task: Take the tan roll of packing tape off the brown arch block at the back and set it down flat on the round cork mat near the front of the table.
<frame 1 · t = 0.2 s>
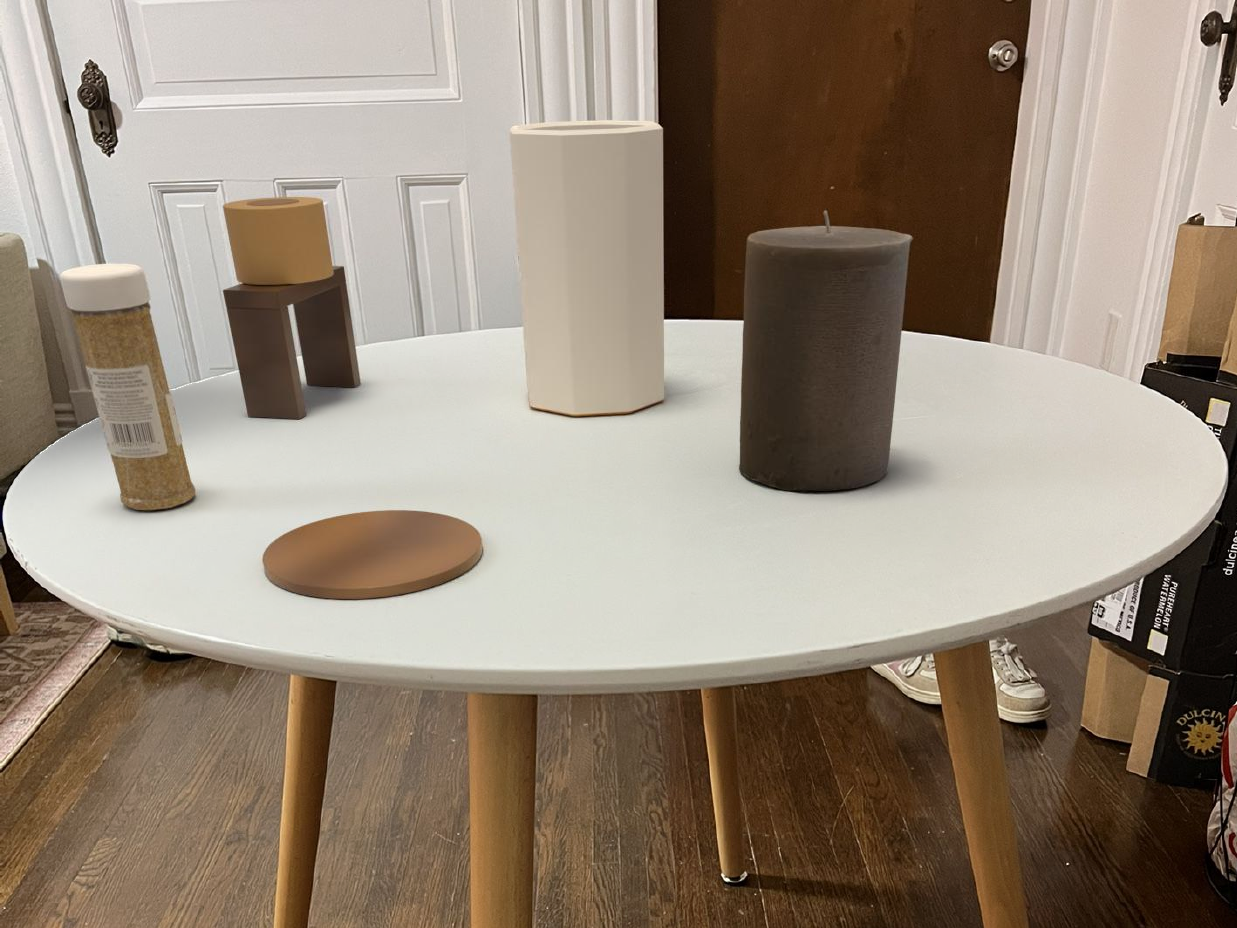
spice jar: (159, 503, 75), on the table
cream faceted vase: (595, 401, 93), on the table
tape roll: (285, 276, 89), point 9 cm above the table, touching brown arch block
cork mat: (374, 556, 66), on the table
brown arch block: (306, 399, 95), on the table
pillar candle: (813, 472, 77), on the table
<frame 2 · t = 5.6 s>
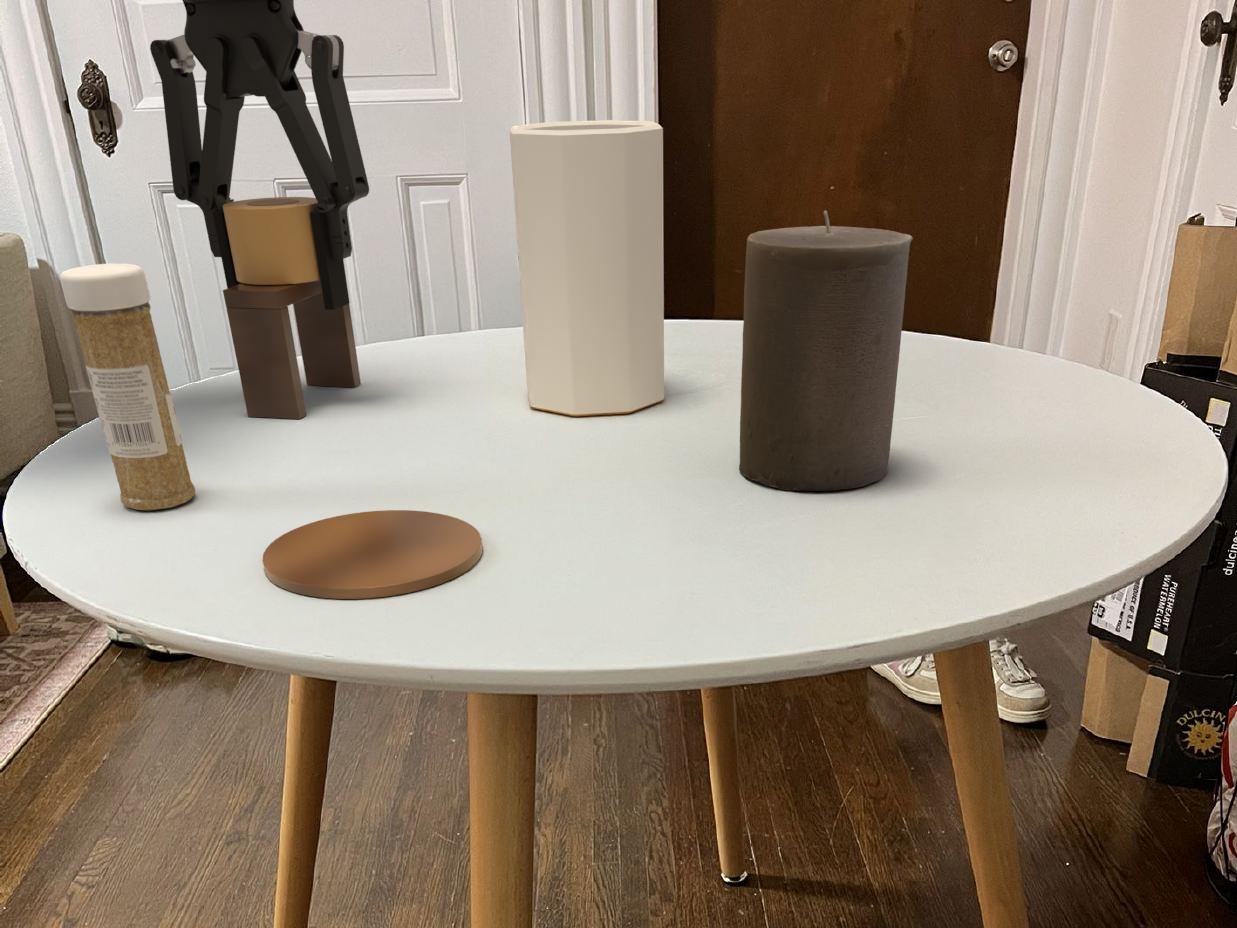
hand: (290, 304, 91), 7 cm above the table, tool pointing down, fingers closed on tape roll, 7 cm apart
tape roll: (285, 276, 89), point 9 cm above the table, touching gripper, brown arch block
everything else where it was.
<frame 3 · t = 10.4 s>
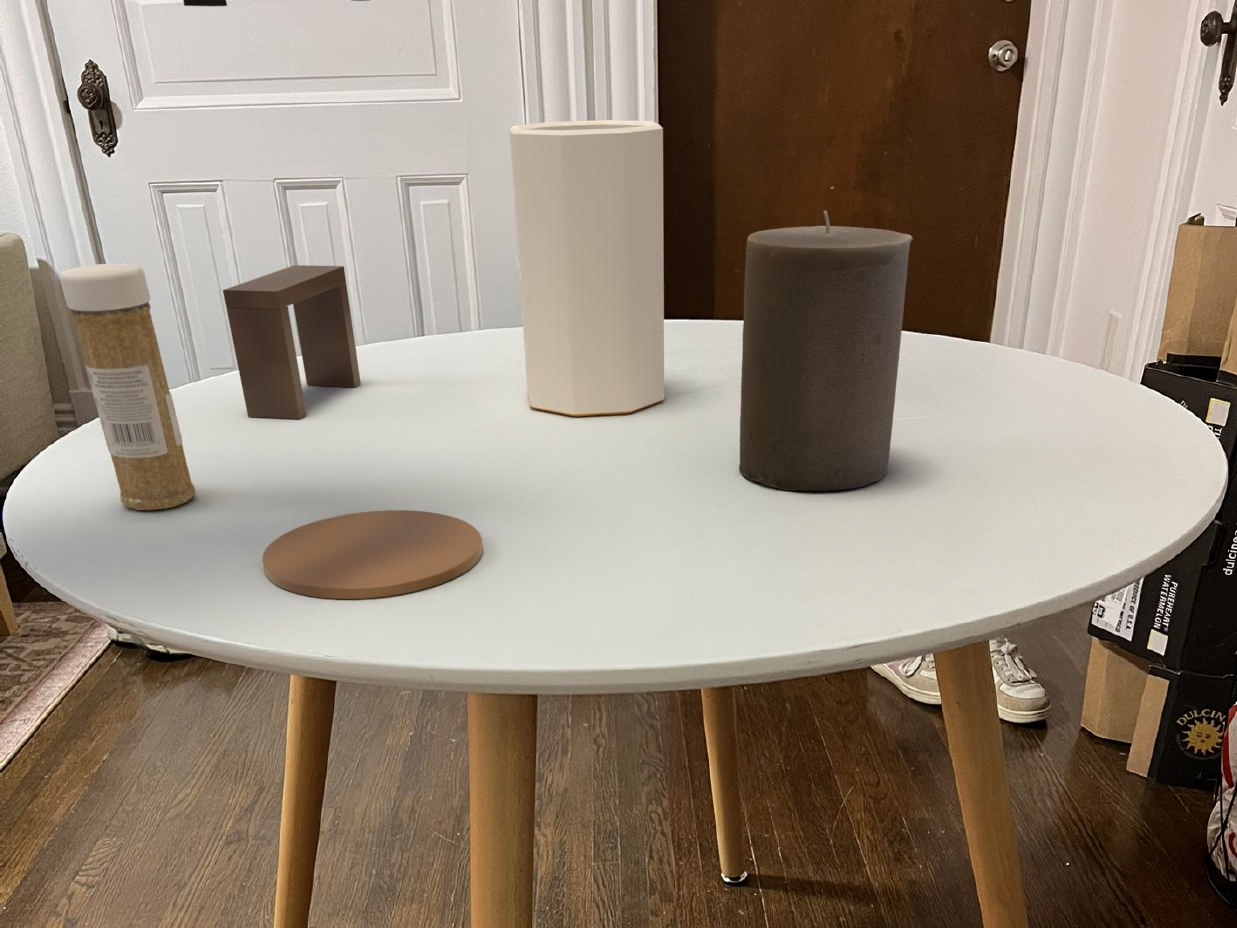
hand: (279, 2, 56), 25 cm above the table, tool pointing down, fingers closed on tape roll, 7 cm apart
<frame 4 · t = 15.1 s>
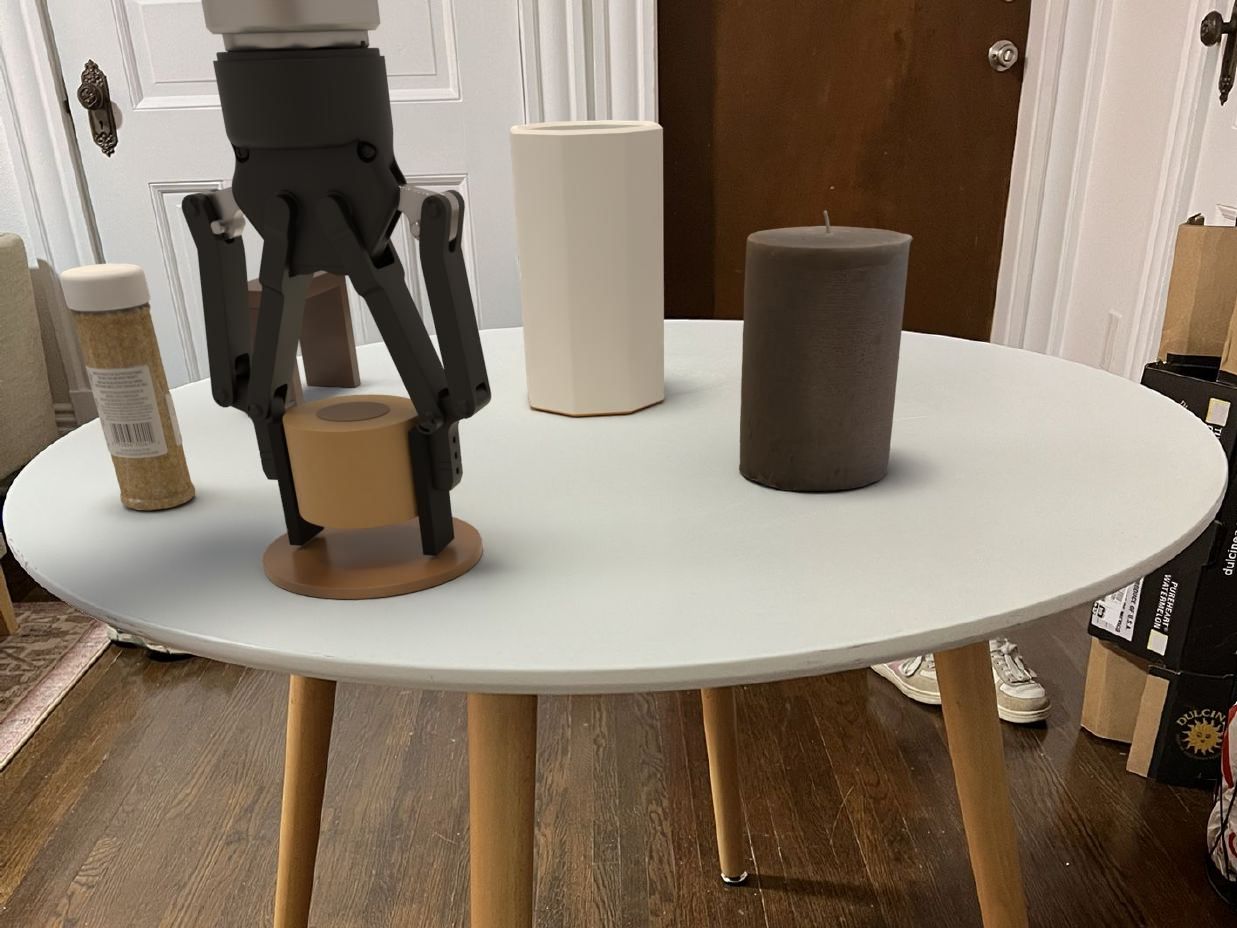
hand: (372, 541, 65), 1 cm above the table, tool pointing down, fingers closed on tape roll, 7 cm apart
tape roll: (367, 506, 64), point 3 cm above the table, touching gripper
everything else where it was.
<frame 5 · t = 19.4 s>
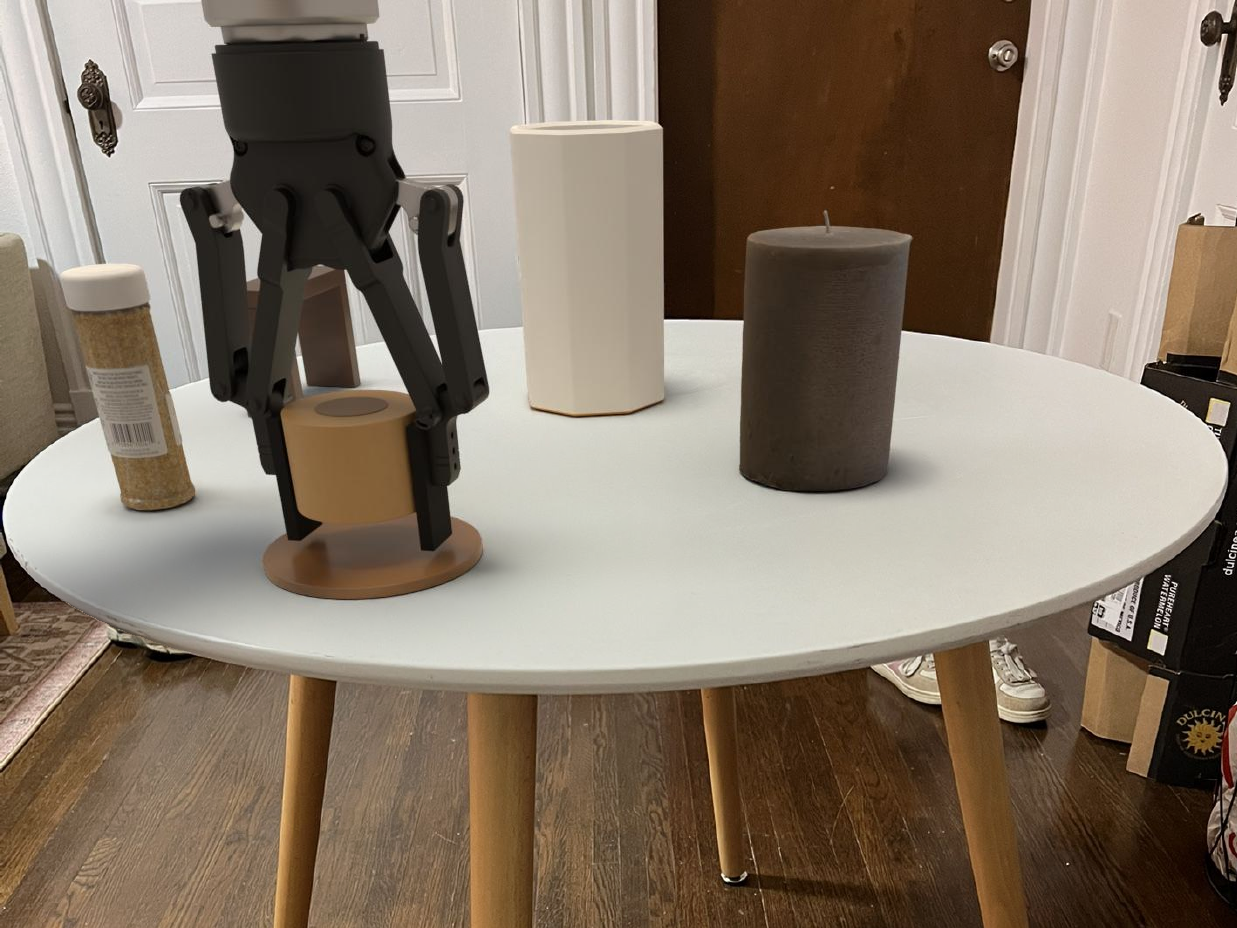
hand: (370, 536, 65), 1 cm above the table, tool pointing down, fingers closed on tape roll, 7 cm apart
tape roll: (365, 501, 64), point 3 cm above the table, touching gripper
everything else where it was.
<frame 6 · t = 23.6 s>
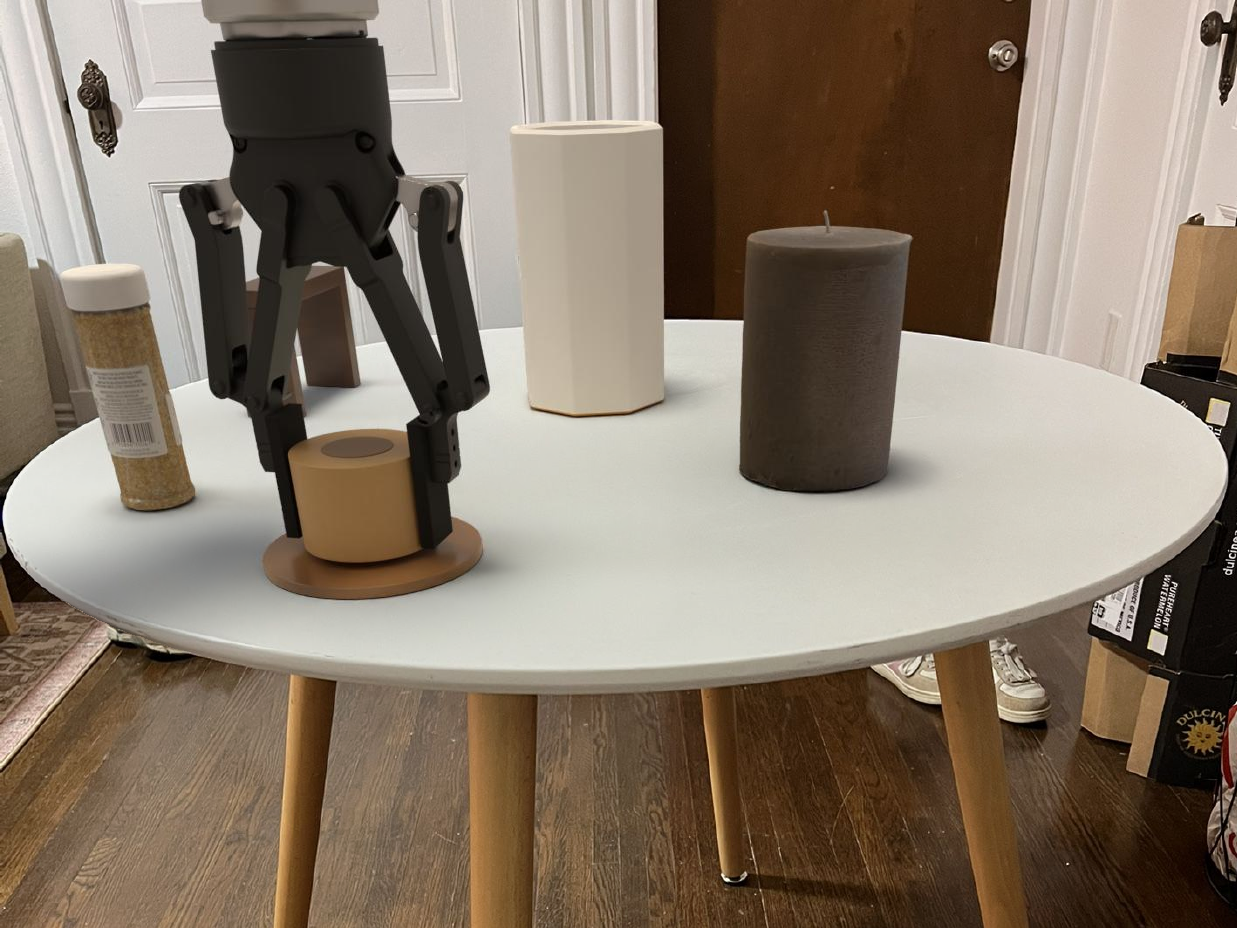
hand: (370, 533, 65), 1 cm above the table, tool pointing down, fingers closed on tape roll, 7 cm apart
tape roll: (371, 538, 65), point 1 cm above the table, touching gripper
everything else where it was.
when the fingers open (2 cm above the table, at t = 23.9 s): tape roll drops 1 cm, resting on cork mat.
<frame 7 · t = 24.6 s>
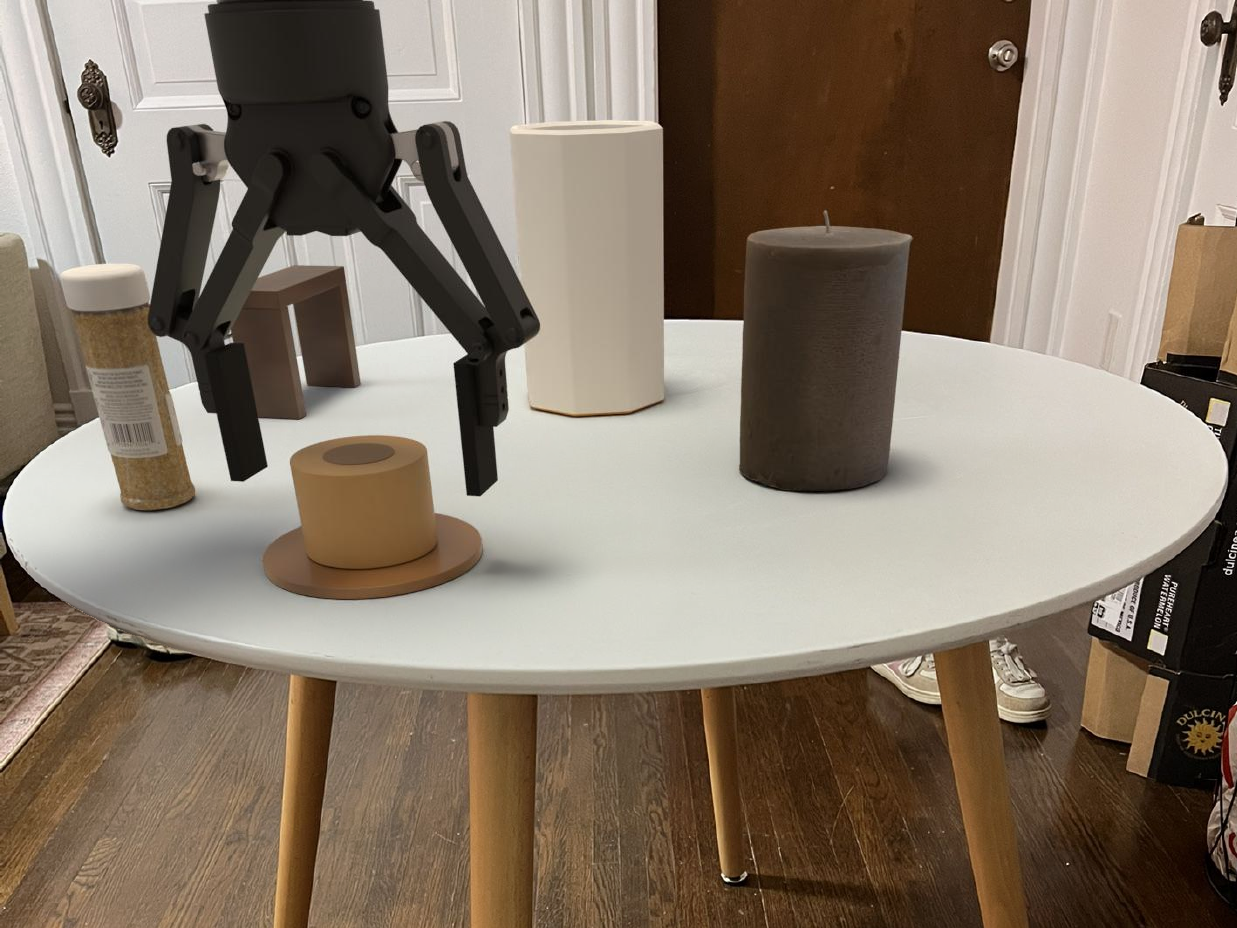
hand: (363, 481, 63), 4 cm above the table, tool pointing down, fingers open, 13 cm apart
tape roll: (372, 544, 65), point 1 cm above the table, touching cork mat
everything else where it was.
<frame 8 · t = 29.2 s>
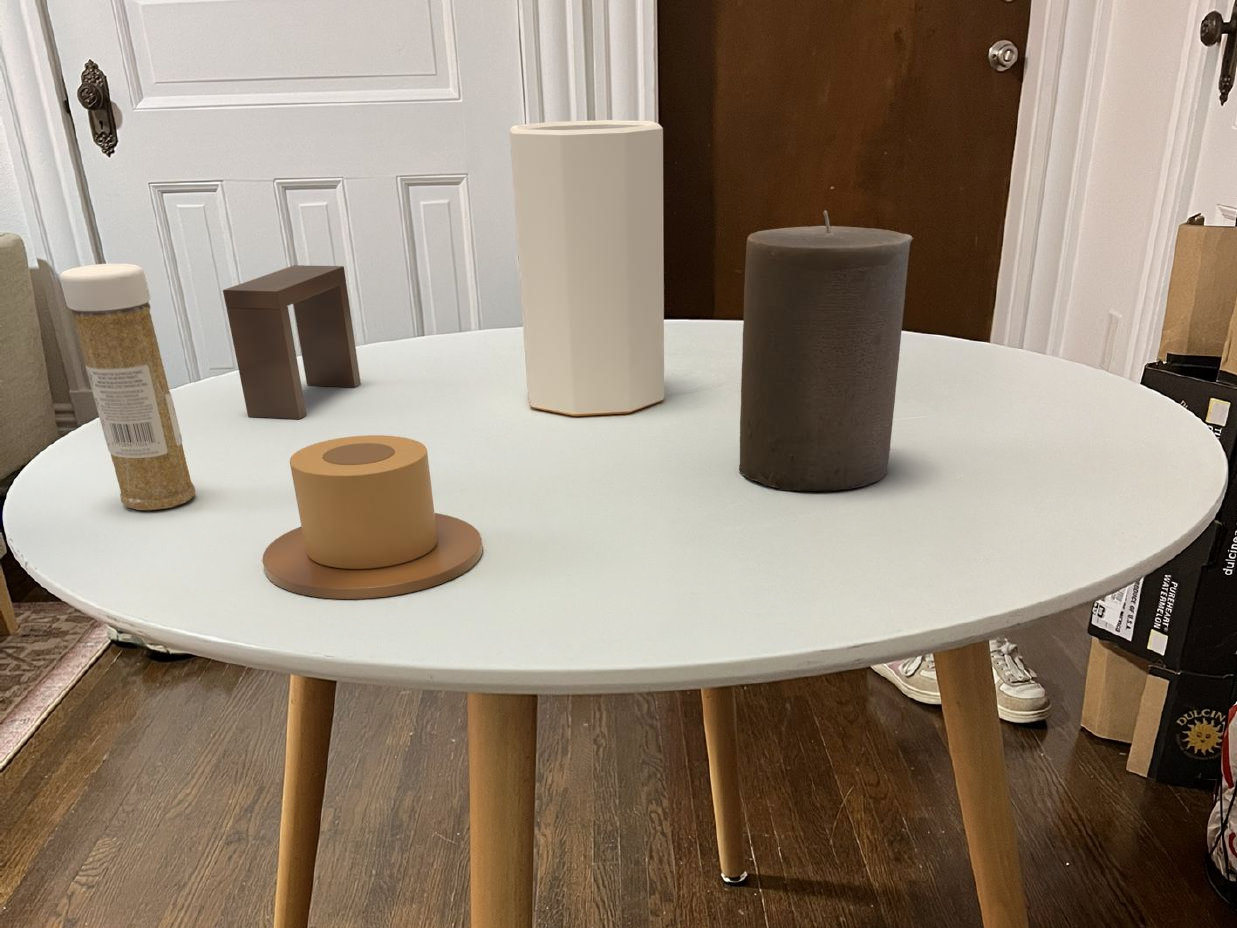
nothing on the table moved.
at the end: tape roll 0.1 cm off-centre on the cork mat, point 0.6 cm above the cork mat's base; tape roll tilted 0°; the gripper is holding nothing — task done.
